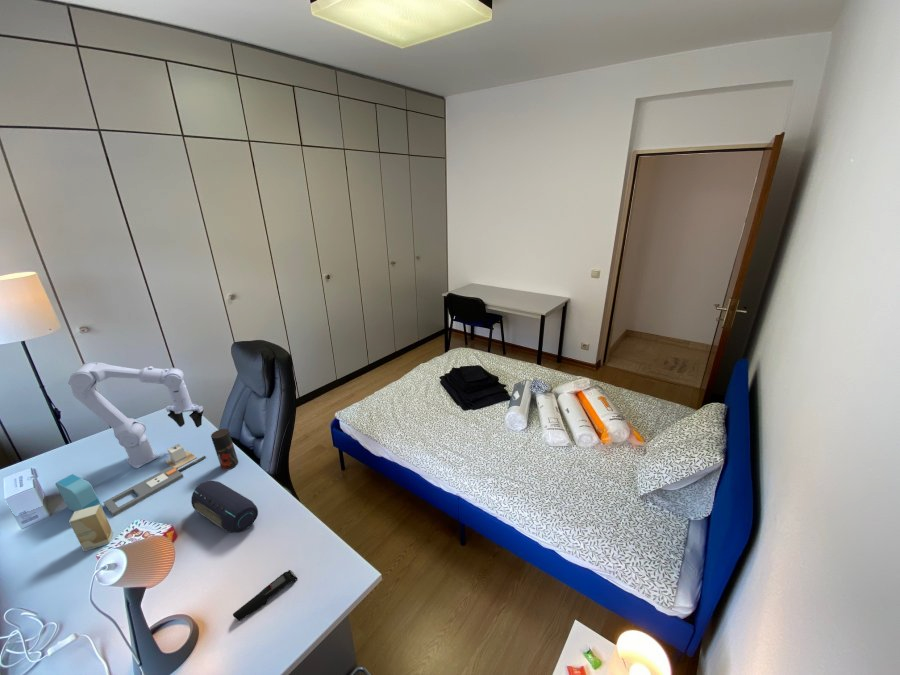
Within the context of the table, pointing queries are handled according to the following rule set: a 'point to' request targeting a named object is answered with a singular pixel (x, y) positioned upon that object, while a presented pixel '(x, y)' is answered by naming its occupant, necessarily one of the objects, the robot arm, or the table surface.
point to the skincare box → (91, 527)
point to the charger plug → (177, 454)
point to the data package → (77, 493)
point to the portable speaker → (224, 506)
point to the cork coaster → (189, 458)
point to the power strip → (147, 488)
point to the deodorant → (224, 449)
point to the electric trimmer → (265, 595)
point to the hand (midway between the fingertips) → (190, 425)
